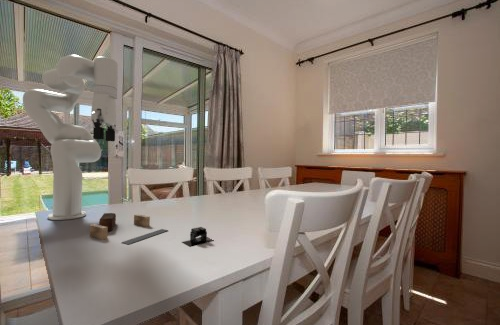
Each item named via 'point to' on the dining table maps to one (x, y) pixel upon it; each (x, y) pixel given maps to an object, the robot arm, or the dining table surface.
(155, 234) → the dark grey flat strip
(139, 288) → the dining table surface
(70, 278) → the dining table surface
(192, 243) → the black arch bracket
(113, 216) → the brick
